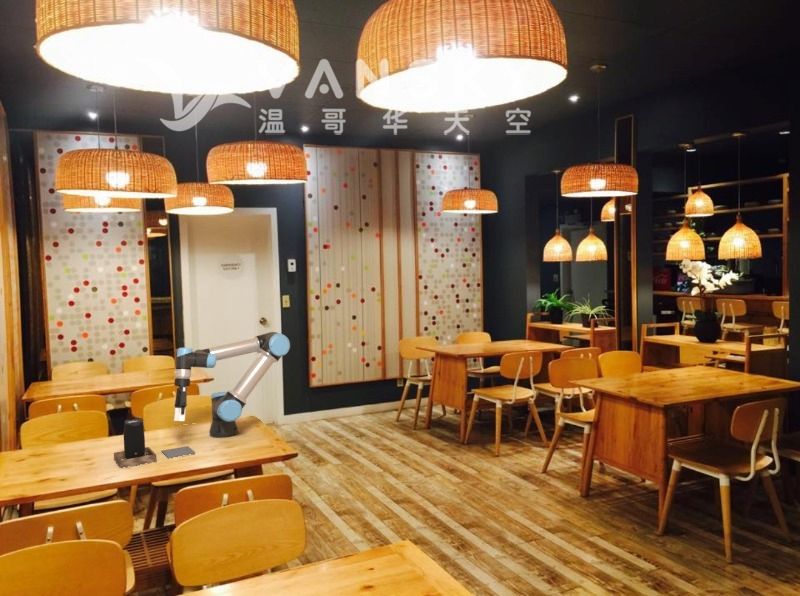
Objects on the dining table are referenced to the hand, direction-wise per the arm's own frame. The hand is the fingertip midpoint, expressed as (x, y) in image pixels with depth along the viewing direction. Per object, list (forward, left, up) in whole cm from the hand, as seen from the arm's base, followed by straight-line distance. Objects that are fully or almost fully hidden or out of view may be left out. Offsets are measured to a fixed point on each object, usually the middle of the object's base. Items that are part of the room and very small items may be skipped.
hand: (179, 421), depth 321 cm
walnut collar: (+22, +5, -15) cm, 27 cm away
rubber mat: (+2, +5, -15) cm, 16 cm away
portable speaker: (+22, +5, -15) cm, 28 cm away
